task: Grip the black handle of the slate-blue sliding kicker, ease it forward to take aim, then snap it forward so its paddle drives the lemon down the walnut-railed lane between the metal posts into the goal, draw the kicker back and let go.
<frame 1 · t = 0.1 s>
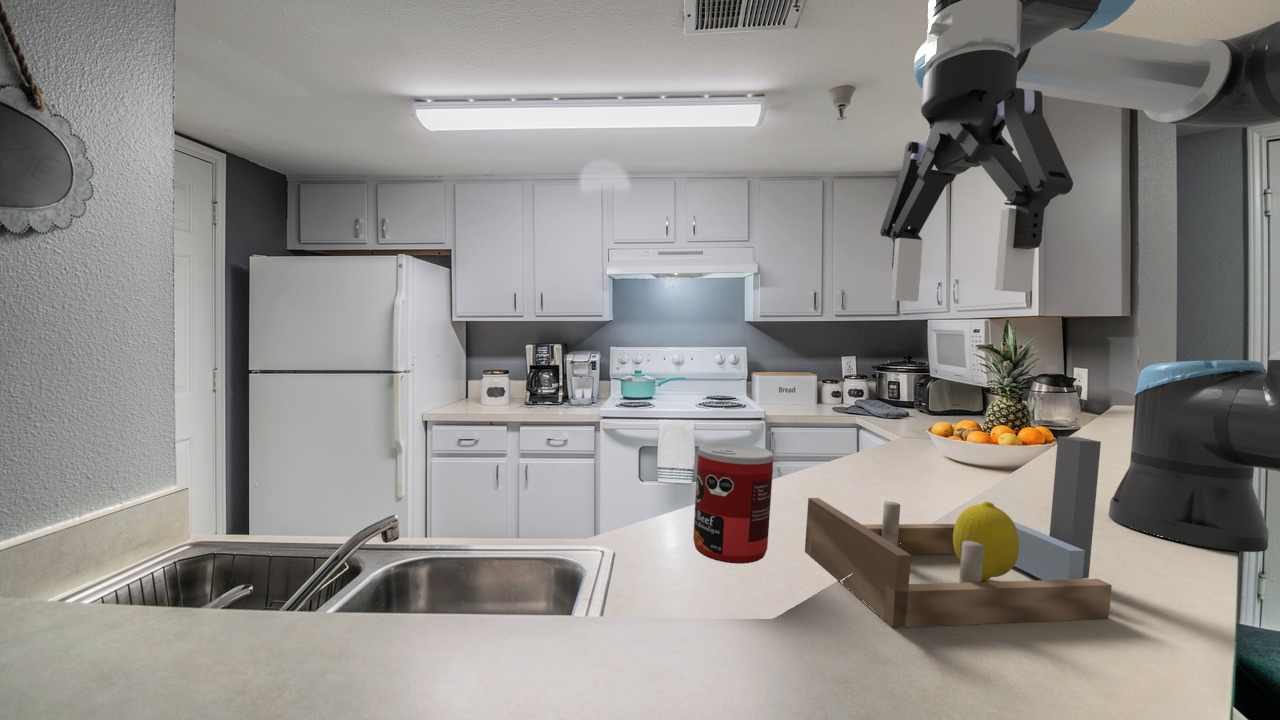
hand: (951, 296, 50), 28 cm above the worktop, fingers open, 13 cm apart
canned food: (729, 551, 58), on the worktop
lane: (968, 580, 53), on the worktop
kicker: (1060, 506, 54), point 8 cm above the worktop, slide at 0.0 cm
lemon: (981, 582, 53), on the worktop
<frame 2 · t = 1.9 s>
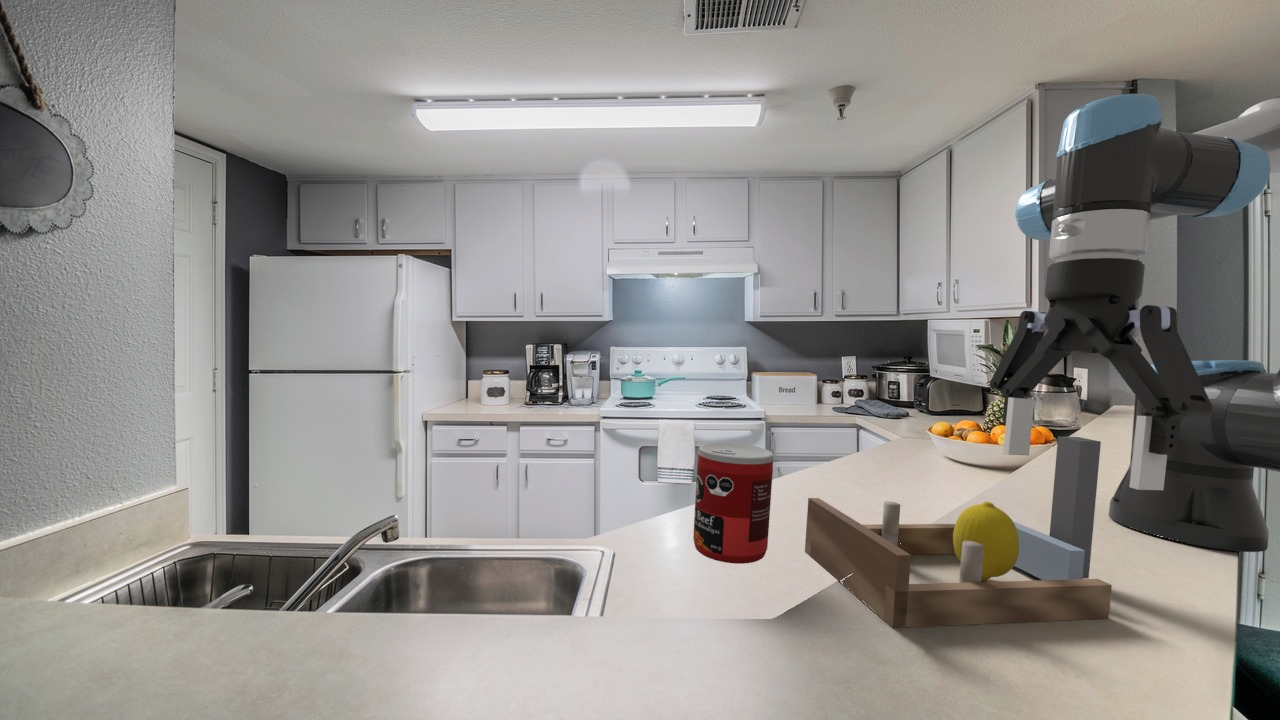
hand: (1073, 470, 54), 11 cm above the worktop, fingers open, 13 cm apart
nothing on the worktop moved.
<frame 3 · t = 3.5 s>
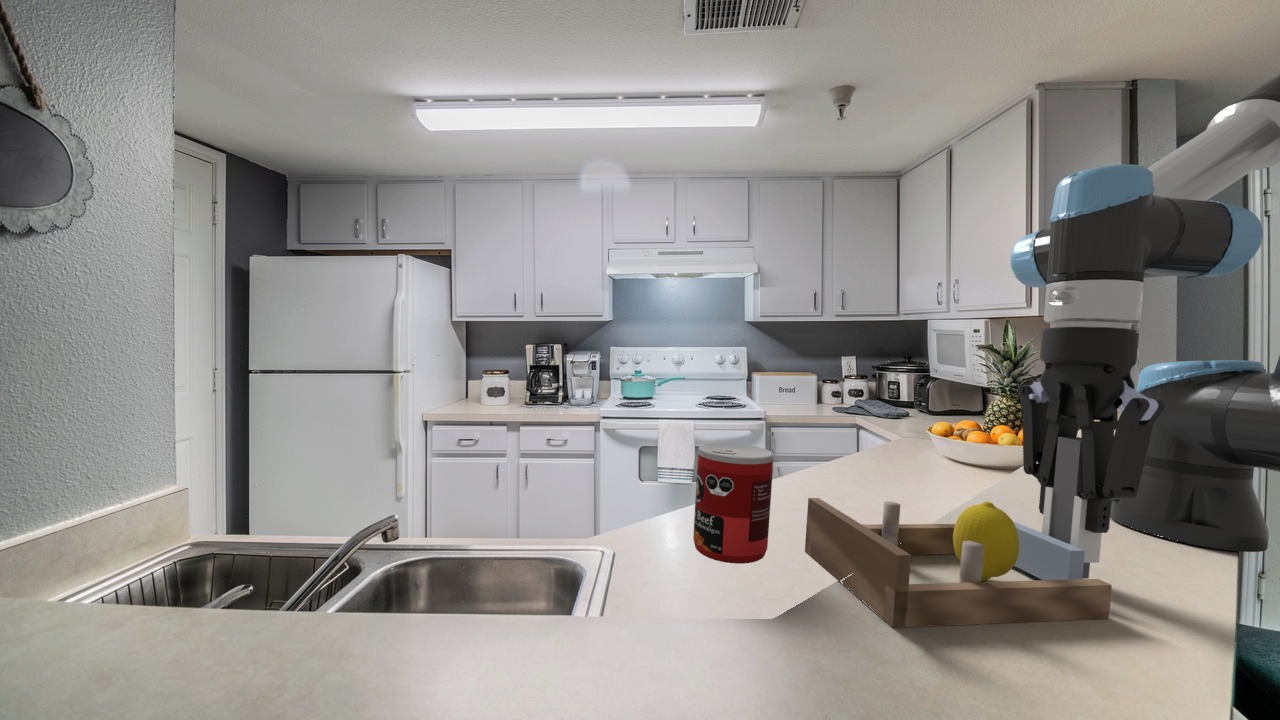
hand: (1068, 554, 55), 3 cm above the worktop, fingers closed on kicker, 2 cm apart
kicker: (1060, 506, 54), point 8 cm above the worktop, slide at 0.0 cm, touching gripper
everything else where it was.
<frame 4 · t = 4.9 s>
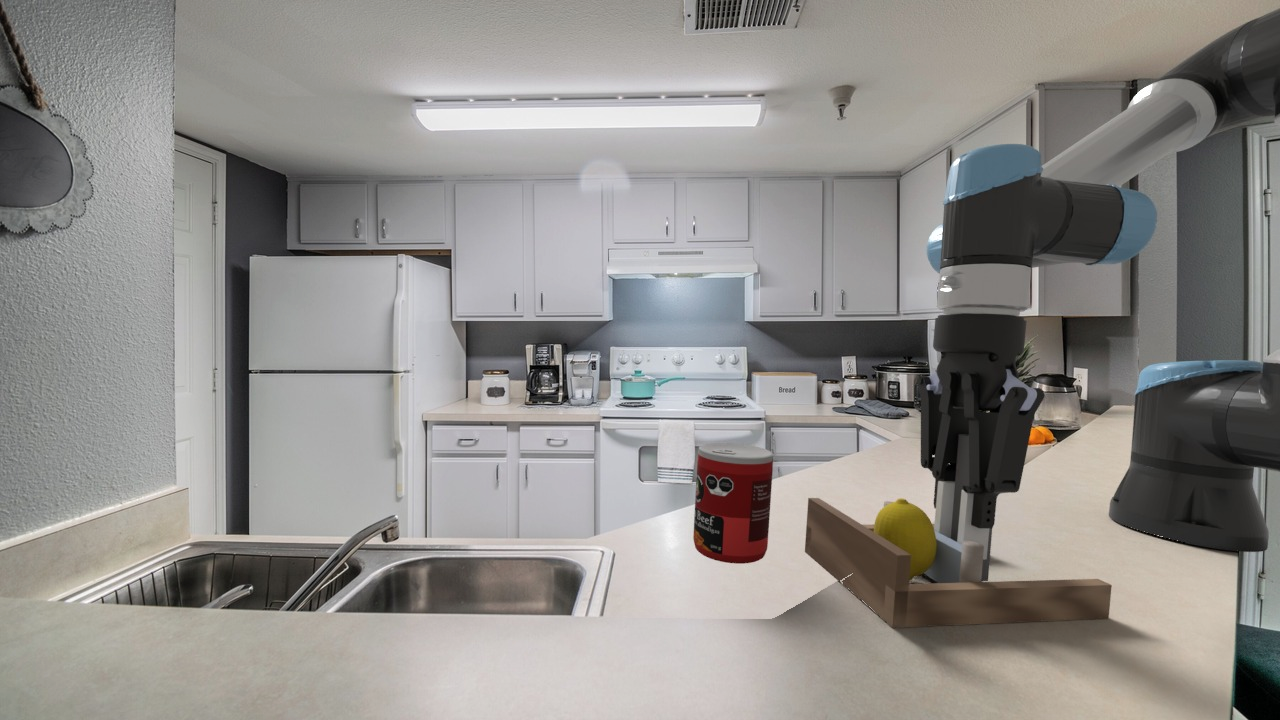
hand: (958, 550, 53), 3 cm above the worktop, fingers closed on kicker, 2 cm apart
kicker: (959, 506, 52), point 8 cm above the worktop, slide at 11.7 cm, touching gripper
lemon: (906, 582, 52), on the worktop
everything else where it was.
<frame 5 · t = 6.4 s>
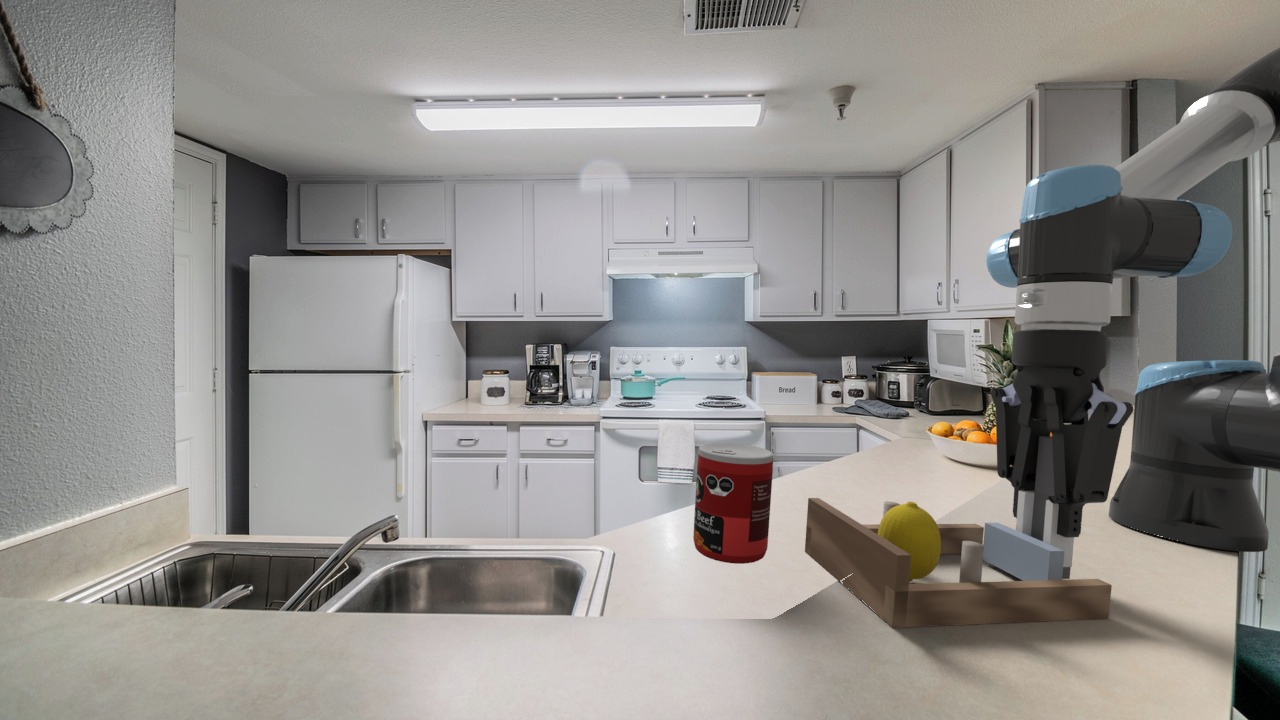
hand: (1042, 558, 54), 2 cm above the worktop, fingers closed on kicker, 2 cm apart
kicker: (1041, 506, 54), point 8 cm above the worktop, slide at 2.3 cm, touching gripper
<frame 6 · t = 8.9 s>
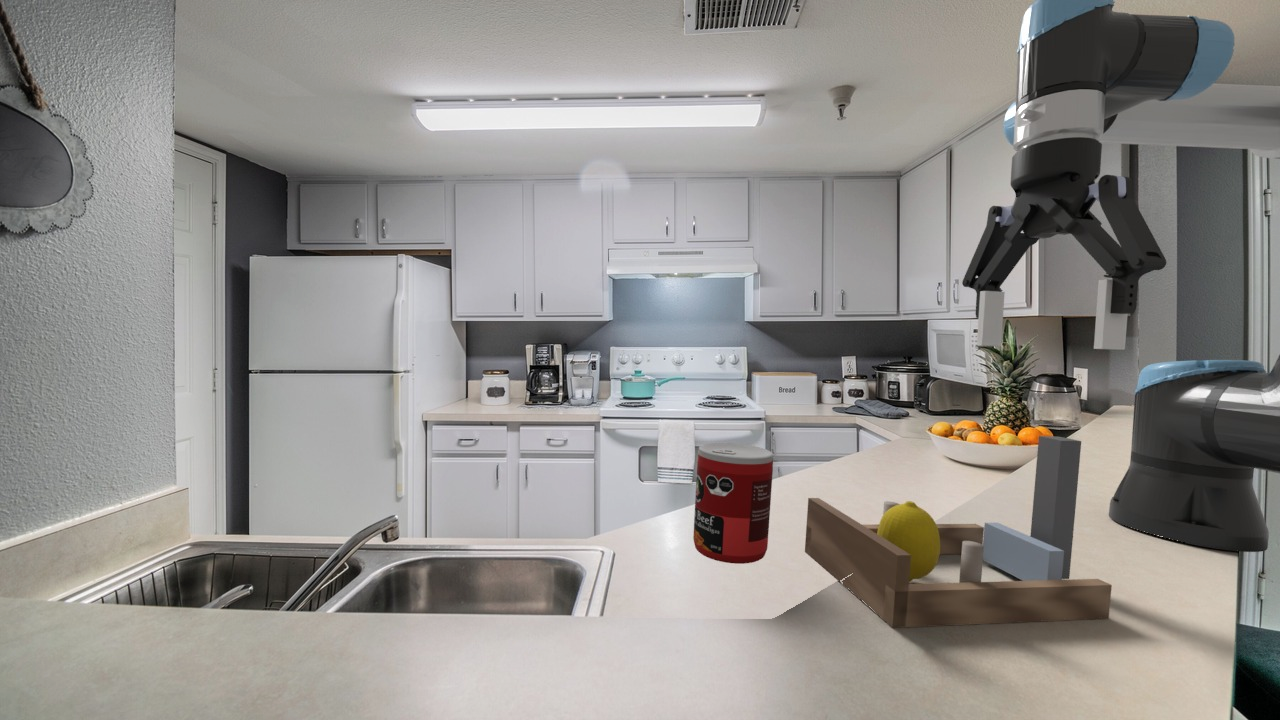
hand: (1042, 347, 57), 24 cm above the worktop, fingers open, 13 cm apart
kicker: (1040, 506, 54), point 8 cm above the worktop, slide at 2.3 cm
everything else where it was.
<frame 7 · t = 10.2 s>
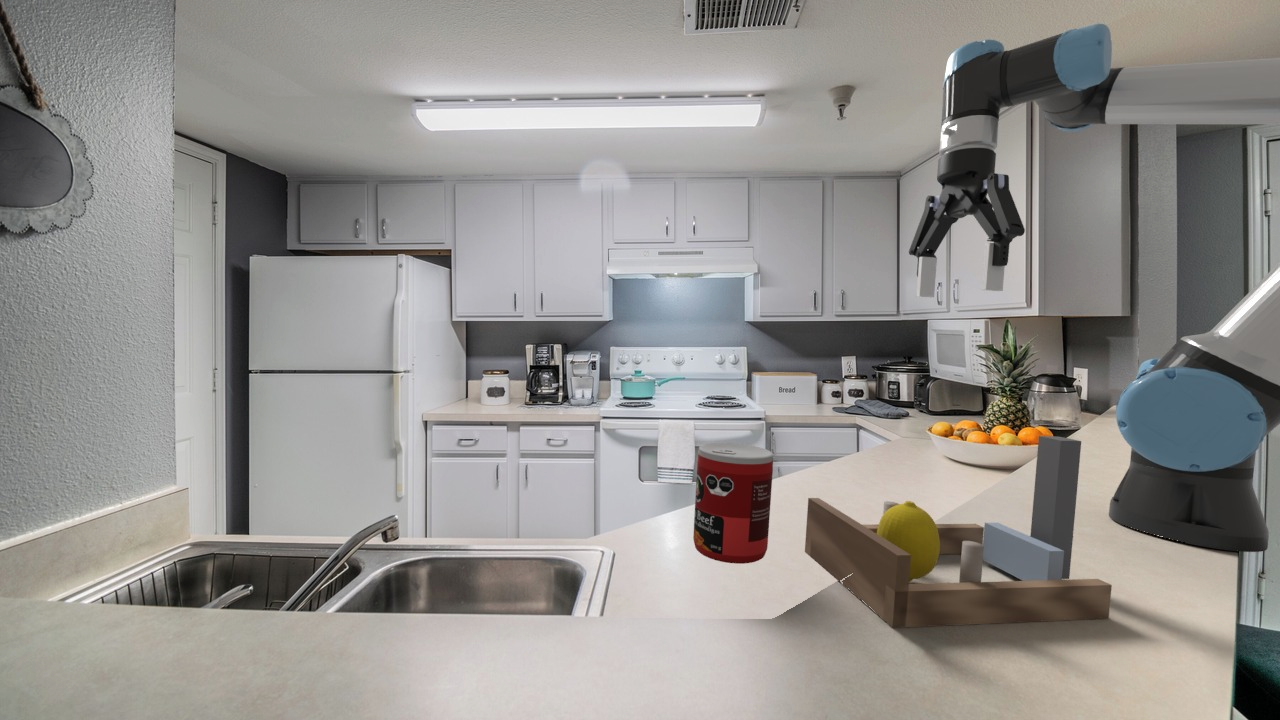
hand: (955, 294, 82), 32 cm above the worktop, fingers open, 13 cm apart
nothing on the worktop moved.
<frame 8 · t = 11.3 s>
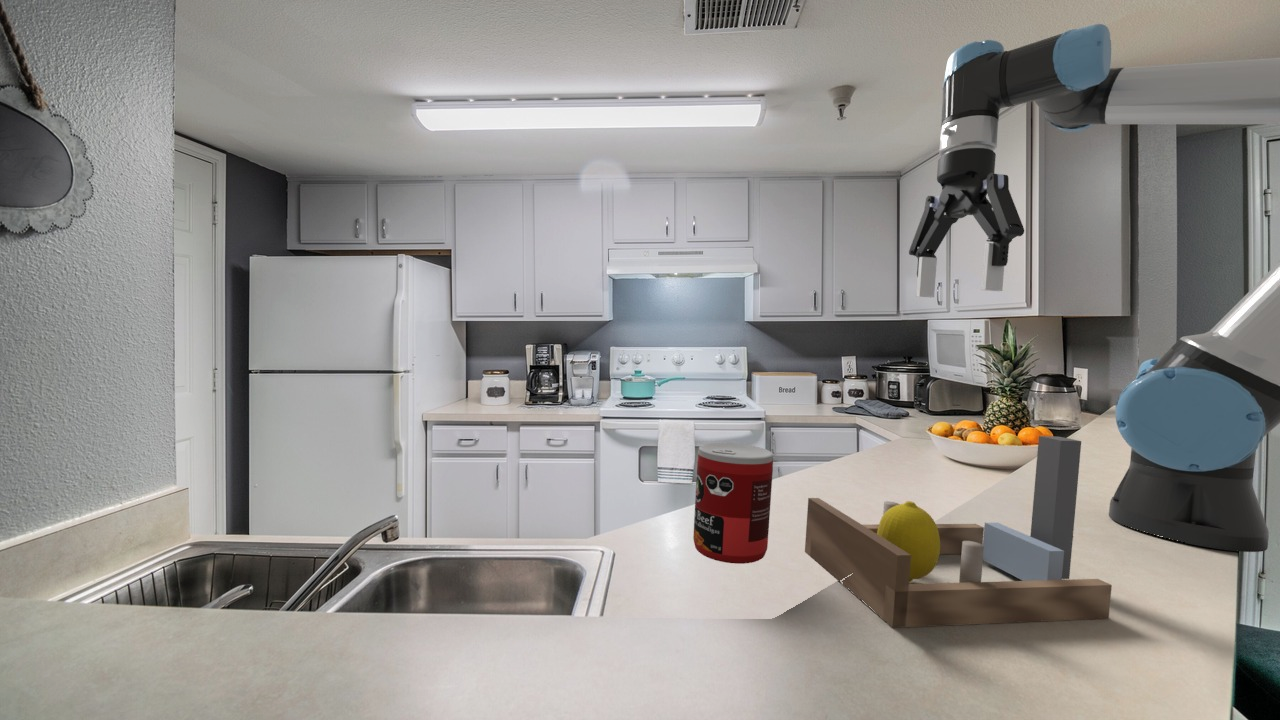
hand: (955, 294, 82), 32 cm above the worktop, fingers open, 13 cm apart
nothing on the worktop moved.
at the end: lemon inside the target area (1.6 cm from its centre), on the worktop; lemon touching worktop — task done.
